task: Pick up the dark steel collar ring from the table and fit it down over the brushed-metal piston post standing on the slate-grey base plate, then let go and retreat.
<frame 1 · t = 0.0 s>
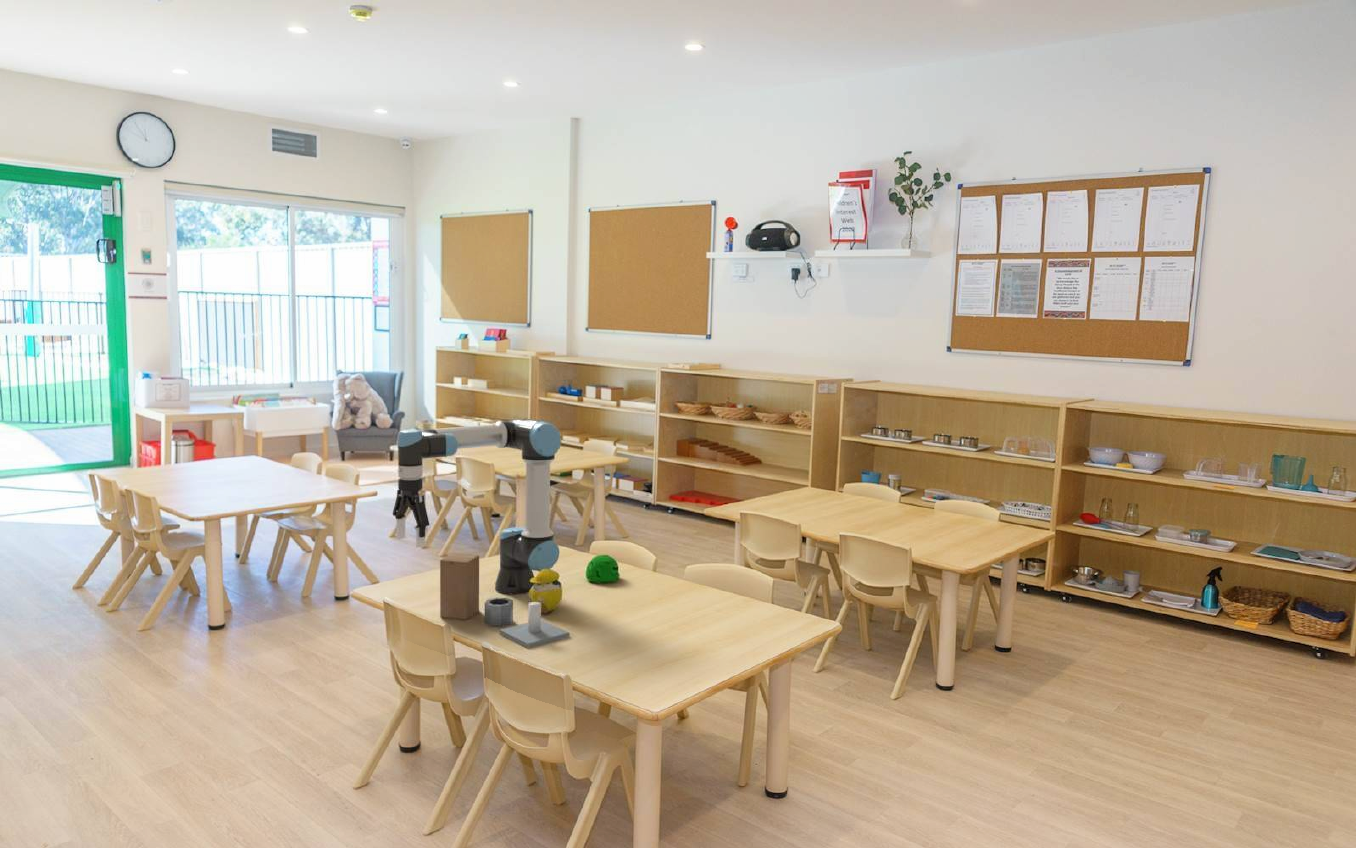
hand: (410, 542, 296), 28 cm above the table, fingers open, 13 cm apart
piston post: (534, 635, 293), on the table
wooden block: (459, 614, 312), on the table
collar ring: (498, 622, 305), on the table
toy 2: (545, 611, 318), on the table
toy: (602, 580, 357), on the table
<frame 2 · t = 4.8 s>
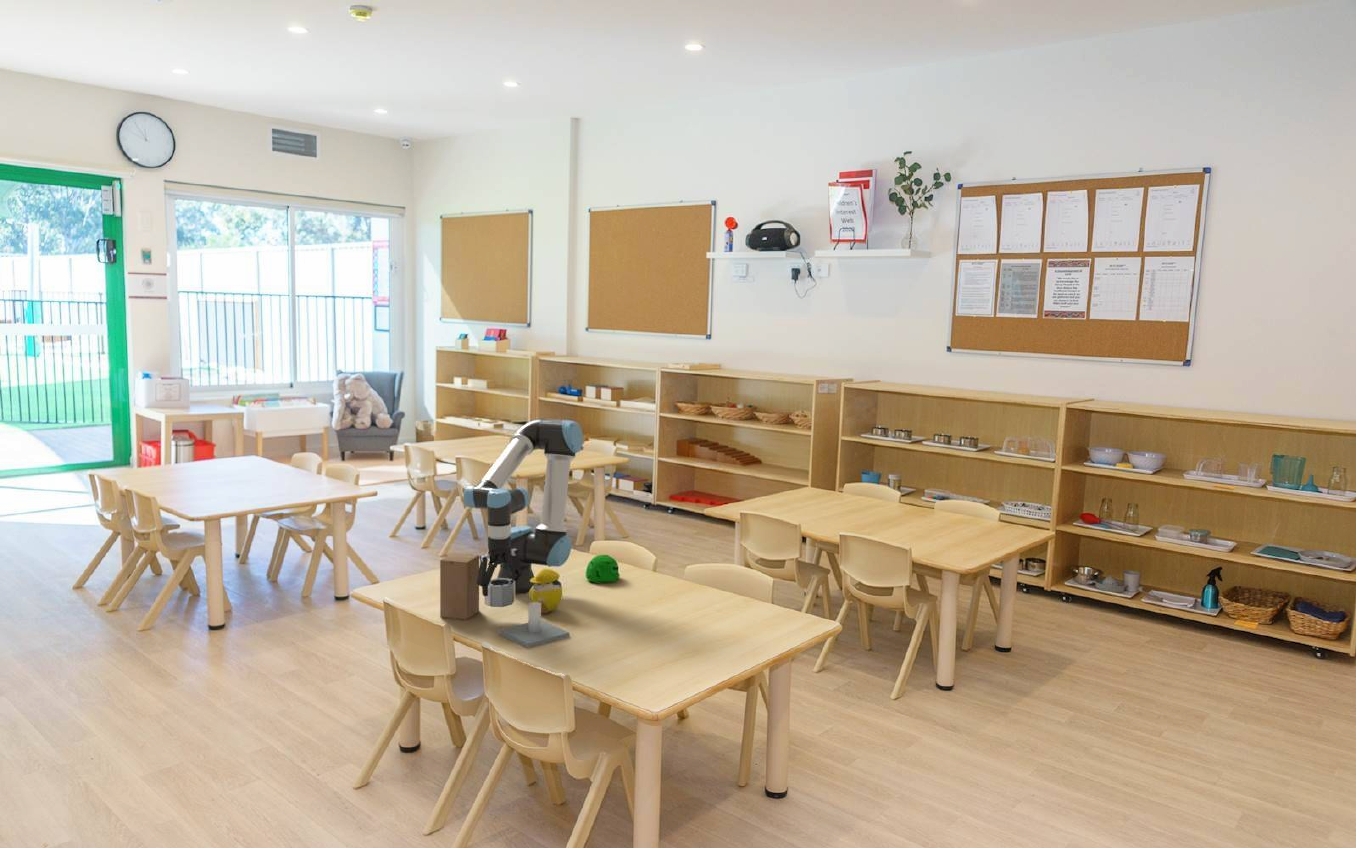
hand: (500, 601, 305), 7 cm above the table, fingers closed on collar ring, 9 cm apart
collar ring: (500, 602, 305), point 7 cm above the table, touching gripper
everything else where it was.
when the fingers open (2 cm above the table, at t = 9.2 s): collar ring stays where it is, resting on piston post.
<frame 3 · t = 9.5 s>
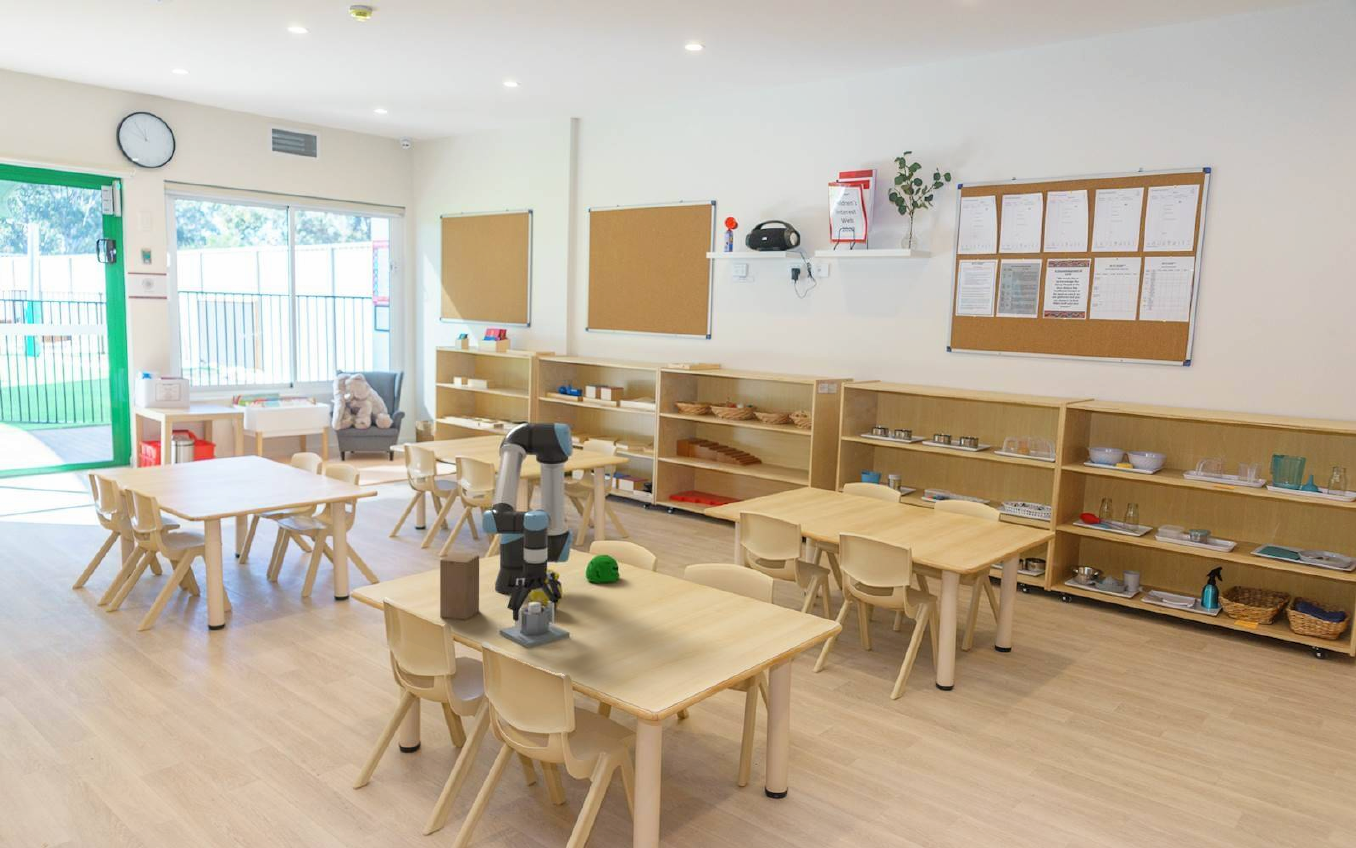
hand: (534, 625, 293), 3 cm above the table, fingers open, 12 cm apart
collar ring: (534, 631, 293), point 1 cm above the table, touching piston post
everything else where it was.
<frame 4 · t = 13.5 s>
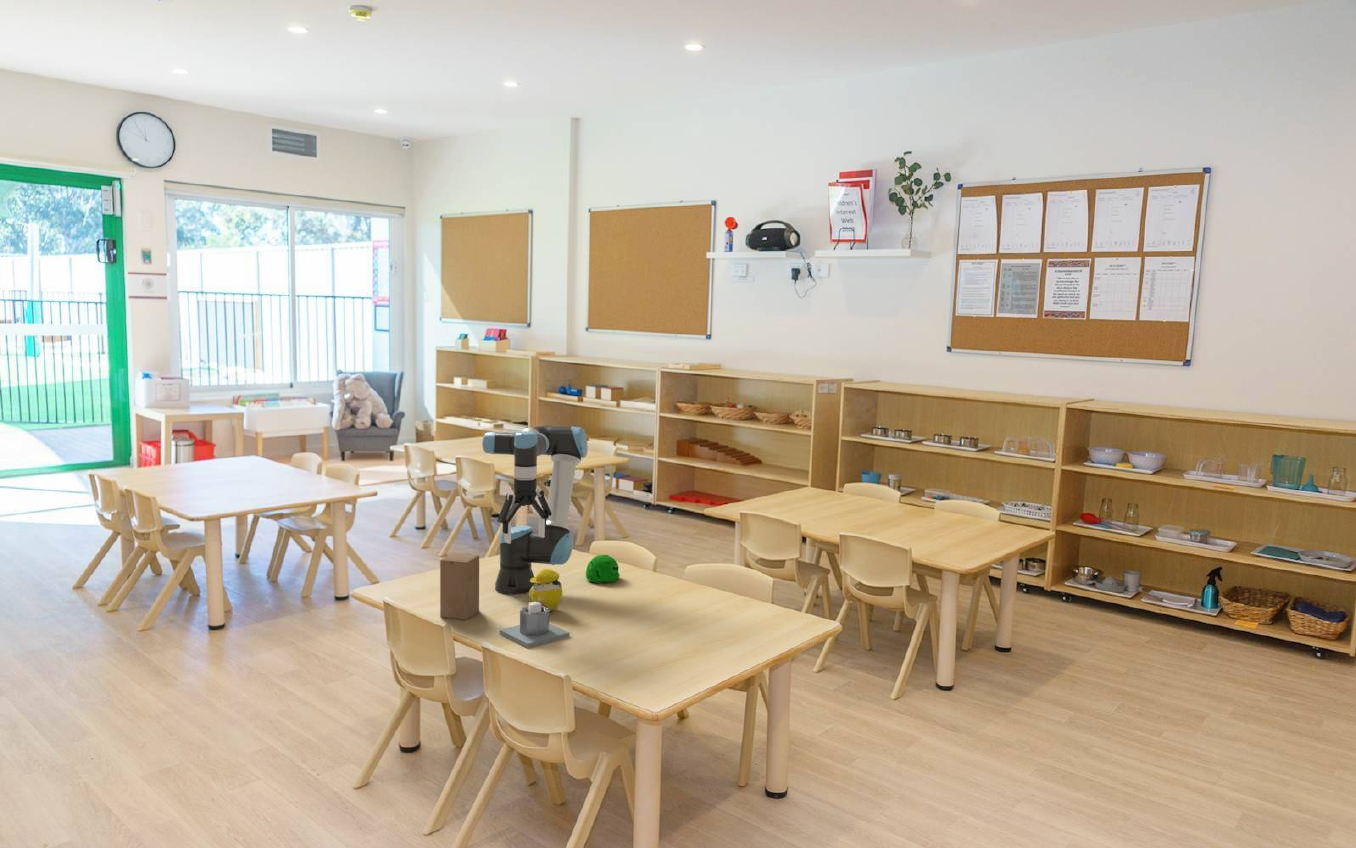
hand: (524, 539, 309), 27 cm above the table, fingers open, 13 cm apart
nothing on the table moved.
at the end: collar ring 0.1 cm off-centre on the piston post, point 1.5 cm above the piston post's base; the gripper is holding nothing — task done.
